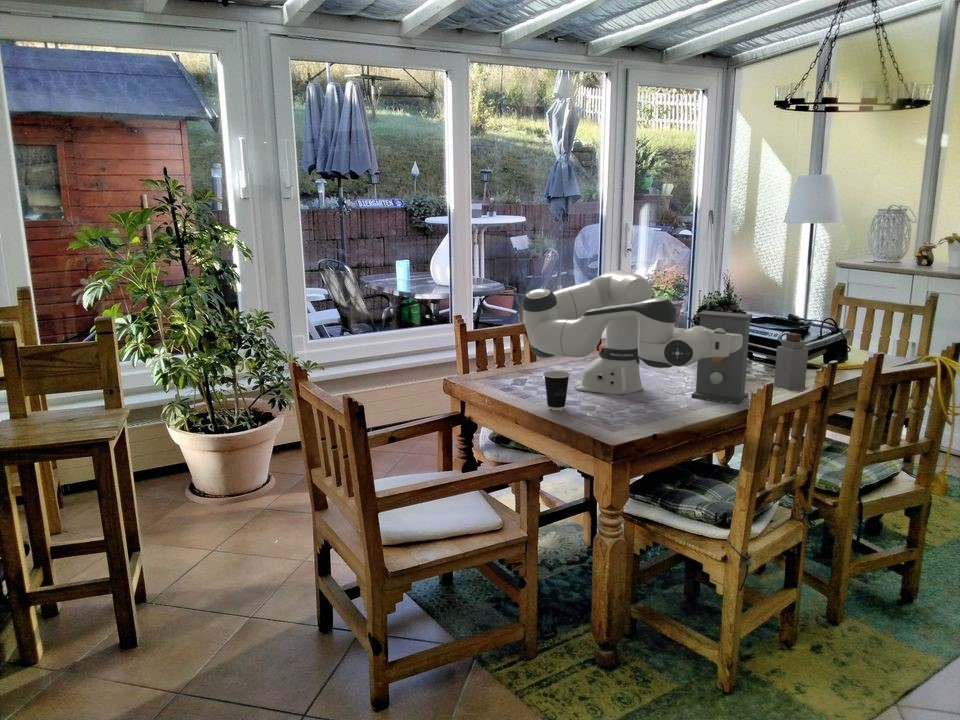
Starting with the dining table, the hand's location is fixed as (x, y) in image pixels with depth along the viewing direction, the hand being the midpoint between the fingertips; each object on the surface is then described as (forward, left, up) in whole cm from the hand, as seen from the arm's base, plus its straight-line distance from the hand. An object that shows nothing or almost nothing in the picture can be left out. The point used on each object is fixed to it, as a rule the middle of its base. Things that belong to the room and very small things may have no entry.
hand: (712, 333), depth 213 cm
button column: (+5, +18, -24) cm, 30 cm away
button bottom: (+3, +14, -18) cm, 23 cm away
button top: (+3, +14, -4) cm, 15 cm away
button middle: (+3, +14, -11) cm, 18 cm away
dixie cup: (-45, -5, -24) cm, 51 cm away
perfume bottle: (+28, +35, -24) cm, 51 cm away
